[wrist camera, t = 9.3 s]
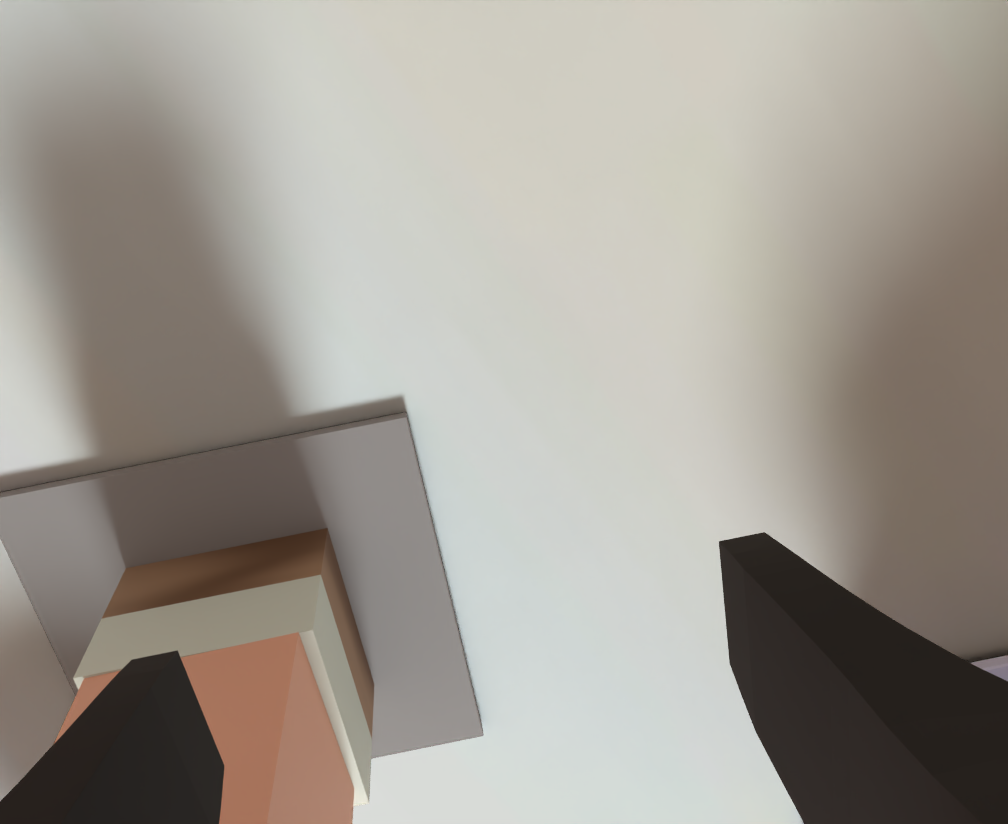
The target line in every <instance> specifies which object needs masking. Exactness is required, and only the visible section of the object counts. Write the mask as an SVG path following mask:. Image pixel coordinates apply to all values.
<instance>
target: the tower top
mask: <svg viewBox="0 0 1008 824" xmlns="http://www.w3.org/2000/svg"><path fill="white" fill-rule="evenodd" d="M297 632H299V635H300V638H301V640H302V643H303V646H304V649H305V652H306V655H307V657H308V660H309V663H310V666H311V669H312V671H313V674H314V677H315V680H316V683H317V685H318V688H319V691H320V694H321V697H322V699H323V702H324V705H325V708H326V711H327V713H328V716H329V719H330V722H331V725H332V727H333V730H334V733H335V736H336V739H337V741H338V744H339V747H340V750H341V753H342V755H343V758H344V761H345V764H346V767H347V770H348V772H349V775H350V778H351V781H352V784H353V786H354V802H353V806H358V805H363V804H368V803H369V794H370V772H371V750H372V738H371V735H370V732H369V728H368V725H367V722H366V719H365V715H364V712H363V709H362V706H361V703H360V699H359V696H358V693H357V690H356V686H355V683H354V680H353V677H352V674H351V670H350V667H349V664H348V661H347V657H346V654H345V651H344V648H343V645H342V641H341V638H340V635H339V632H338V628H337V625H336V622H335V619H334V616H333V612H332V609H331V606H330V603H329V599H328V596H327V593H326V590H325V587H324V583H323V580H322V577H321V575H317V576H312V577H307V578H302V579H297V580H292V581H287V582H282V583H277V584H272V585H267V586H262V587H257V588H252V589H247V590H242V591H237V592H232V593H227V594H222V595H217V596H212V597H207V598H202V599H197V600H192V601H187V602H182V603H177V604H172V605H167V606H162V607H157V608H152V609H147V610H142V611H137V612H132V613H127V614H122V615H117V616H112V617H107V618H102V619H101V621H100V623H99V625H98V627H97V629H96V631H95V633H94V636H93V638H92V640H91V642H90V644H89V646H88V648H87V650H86V652H85V654H84V656H83V659H82V661H81V663H80V665H79V667H78V669H77V671H76V673H75V675H74V677H73V679H74V681H75V684H76V686H77V688H78V690H79V688H80V686H81V684H82V682H83V680H84V678H89V677H93V676H98V675H103V674H107V673H112V672H116V671H121V670H122V669H123V668H124V667H125V666H126V665H127V664H128V663H129V662H130V661H131V660H132V659H137V658H142V657H147V656H152V655H157V654H162V653H167V652H172V651H177V650H178V653H179V655H180V658H181V657H186V656H190V655H195V654H200V653H204V652H209V651H214V650H218V649H223V648H227V647H232V646H237V645H241V644H246V643H251V642H255V641H260V640H264V639H269V638H274V637H278V636H283V635H288V634H292V633H297Z"/></svg>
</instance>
